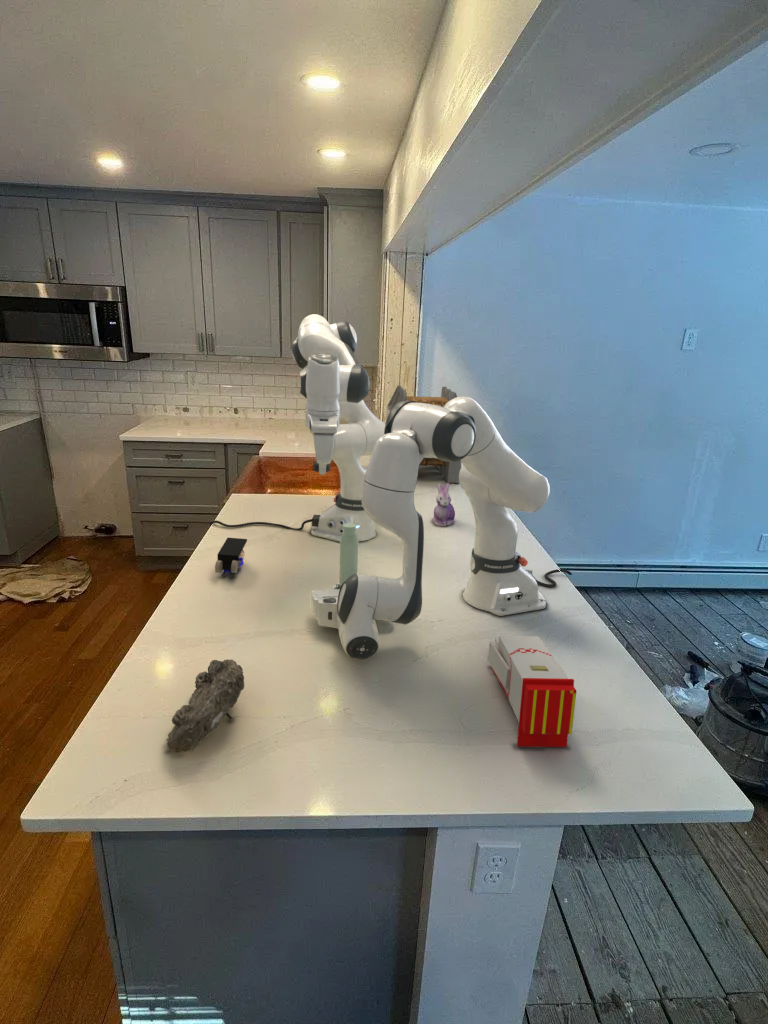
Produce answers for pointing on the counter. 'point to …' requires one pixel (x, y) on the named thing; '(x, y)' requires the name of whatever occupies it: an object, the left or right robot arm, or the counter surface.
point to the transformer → (400, 395)
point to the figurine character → (230, 556)
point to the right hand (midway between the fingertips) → (347, 585)
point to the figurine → (443, 507)
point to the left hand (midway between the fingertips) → (321, 470)
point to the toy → (534, 690)
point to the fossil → (206, 705)
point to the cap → (316, 467)
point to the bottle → (348, 552)
